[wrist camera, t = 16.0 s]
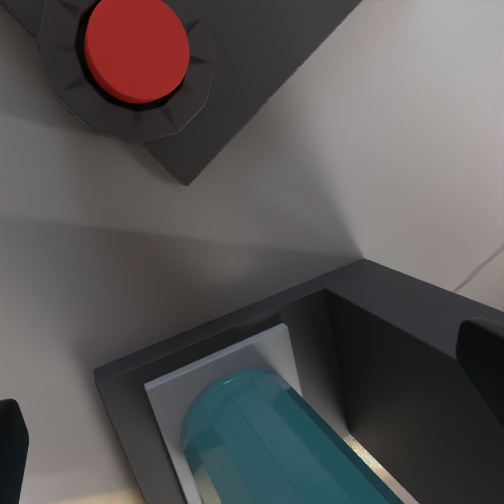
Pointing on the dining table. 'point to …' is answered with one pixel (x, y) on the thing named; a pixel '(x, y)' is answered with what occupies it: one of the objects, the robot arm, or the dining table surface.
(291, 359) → the coffee maker
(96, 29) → the button
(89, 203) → the dining table surface
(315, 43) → the control block
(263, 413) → the cup
